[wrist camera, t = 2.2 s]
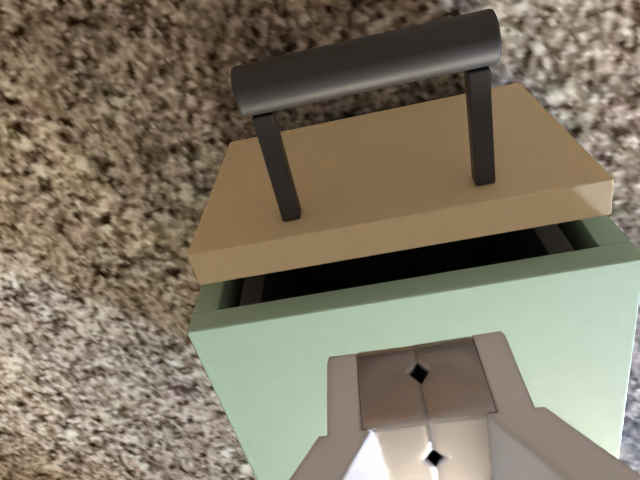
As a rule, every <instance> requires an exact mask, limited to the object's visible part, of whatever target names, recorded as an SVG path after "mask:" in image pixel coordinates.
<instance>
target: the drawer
mask: <svg viewBox="0 0 640 480" xmlns="http://www.w3.org/2000/svg"><path fill="white" fill-rule="evenodd" d="M500 55H501V34H500V28H499V23H498V19H497V16H496V14H495V12H494V10H492V9H486V10H481V11H477V12H472V13H468V14H464V15H459V16H455V17H450V18H446V19H441V20H437V21H432V22H428V23H424V24H419V25H415V26H410V27H406V28H401V29H397V30H392V31H388V32H384V33H379V34H375V35H370V36H366V37H361V38H357V39H353V40H348V41H344V42H339V43H335V44H330V45H326V46H321V47H317V48H313V49H308V50H304V51H299V52H295V53H290V54H286V55H281V56H277V57H273V58H268V59H264V60H259V61H255V62H250V63H246V64H241V65H237V66H234V67H232V69H231V84H232V89H233V94H234V97H235V101H236V104H237V106H238V109H239V111H240V112H241V114H242V115H243V116H244V117H250V116H253V118H252V121H253V124H254V127H255V131H256V134H257V137H253V138H248V139H243V140H238V141H234V142H230V144H229V147H228V149H227V152H226V155H225V157H224V160H223V162H222V165H221V168H220V170H219V173H218V176H217V178H216V181H215V183H214V186H213V189H212V191H211V194H210V197H209V199H208V202H207V205H206V207H205V210H204V212H203V215H202V218H201V220H200V223H199V226H198V228H197V231H196V233H195V236H194V239H193V241H192V244H191V247H190V249H189V252H188V254H187V257H188V259H189V262H190V264H191V266H192V269H193V271H194V273H195V276H196V278H197V280H198V283H199V285H205V284H210V283H216V282H222V281H228V280H233V279H239V278H245V280H244V285H243V289H242V294H241V299H240V304H239V306H245V305H251V304H257V303H263V302H269V301H275V300H281V299H287V298H293V297H299V296H305V295H311V294H317V293H323V292H329V291H335V290H341V289H347V288H353V287H359V286H365V285H371V284H377V283H383V282H389V281H395V280H401V279H407V278H413V277H419V276H426V275H432V274H438V273H444V272H450V271H456V270H462V269H468V268H474V267H480V266H486V265H492V264H498V263H504V262H510V261H516V260H522V259H528V258H534V257H540V256H546V255H552V254H558V253H564V252H570V251H575V250H574V249H573V247H572V246H571V244H570V243H569V241H568V240H567V238H566V237H565V236H564V234H563V233H562V231H561V230H560V228H559V227H558V225H557V223H563V222H569V221H575V220H581V219H586V218H592V217H598V216H604V215H609V214H611V208H612V197H613V185H614V178H613V177H612V176H611V175H610V174H609V173H608V172H607V171H606V170H605V169H604V168H603V167H602V166H601V165H600V164H599V163H598V162H597V161H596V160H595V159H594V158H593V157H592V156H591V155H590V154H589V153H588V152H587V151H586V150H585V149H584V148H583V147H582V146H581V145H580V144H579V143H578V142H577V141H576V140H575V139H574V138H573V137H572V136H571V135H570V134H569V133H568V132H567V131H566V130H565V129H564V128H563V127H562V126H561V125H560V124H559V123H558V122H557V121H556V120H555V119H554V118H553V117H552V116H551V115H550V114H549V113H548V112H547V111H546V110H545V109H544V108H543V107H542V106H541V105H540V104H539V103H538V102H537V101H536V100H535V98H534V97H533V96H532V95H531V94H530V93H529V92H528V91H527V90H526V89H525V88H524V87H523V86H522V85H521V84H520V83H514V84H509V85H504V86H500V87H495V88H491V73H490V68H489V67H488V66H491V65H495V64H497V63H498V62H499V59H500ZM463 71H464V77H465V90H466V94H461V95H456V96H451V97H446V98H442V99H437V100H432V101H427V102H422V103H417V104H413V105H408V106H403V107H398V108H393V109H388V110H384V111H379V112H374V113H369V114H364V115H359V116H354V117H350V118H345V119H340V120H335V121H330V122H325V123H321V124H316V125H311V126H306V127H301V128H296V129H292V130H287V131H282V132H280V130H279V126H278V122H277V119H276V115H275V111H278V110H283V109H288V108H293V107H297V106H302V105H307V104H311V103H316V102H321V101H326V100H330V99H335V98H340V97H345V96H349V95H354V94H359V93H363V92H368V91H373V90H378V89H382V88H387V87H392V86H396V85H401V84H406V83H411V82H415V81H420V80H425V79H429V78H434V77H439V76H444V75H448V74H453V73H458V72H463Z"/></svg>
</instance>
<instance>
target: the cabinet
mask: <svg viewBox="0 0 640 480" xmlns="http://www.w3.org/2000/svg"><path fill="white" fill-rule="evenodd" d="M557 225H558V227H559V228H560V230H561V231H562V233H563V234H564V236H565V237H566V238H567V240H568V241H569V243H570V244H571V246H572V247H573V249H574V250H575V251H570V252H564V253H558V254H552V255H546V256H540V257H534V258H528V259H522V260H516V261H510V262H504V263H498V264H492V265H486V266H480V267H474V268H468V269H462V270H456V271H450V272H444V273H438V274H432V275H426V276H419V277H413V278H407V279H401V280H395V281H389V282H383V283H377V284H371V285H365V286H359V287H353V288H347V289H341V290H335V291H329V292H323V293H317V294H311V295H305V296H299V297H293V298H287V299H281V300H275V301H269V302H263V303H257V304H251V305H245V306H239V304H240V299H241V294H242V289H243V285H244V280H245V278H239V279H233V280H228V281H222V282H216V283H210V284H205V285H202V286H201V289H200V292H199V295H198V299H197V302H196V305H195V308H194V311H193V315H192V317H191V321H190V324H189V327H188V330H187V334H188V336H189V338H190V340H191V342H192V344H193V346H194V348H195V350H196V353H197V355H198V357H199V359H200V361H201V363H202V365H203V367H204V369H205V371H206V374H207V376H208V378H209V380H210V382H211V384H212V386H213V388H214V390H215V392H216V395H217V397H218V399H219V401H220V403H221V405H222V407H223V409H224V411H225V413H226V416H227V418H228V420H229V422H230V424H231V426H232V428H233V430H234V432H235V434H236V437H237V439H238V441H239V443H240V445H241V447H242V449H243V451H244V453H245V455H246V458H247V460H248V462H249V464H250V466H251V468H252V470H253V472H254V474H255V476H256V479H257V480H289V479H290V478H291V476H292V475H293V473H294V472H295V471H296V469H297V468H298V466H299V465H300V463H301V462H302V460H303V459H304V457H305V456H306V454H307V453H308V451H309V450H310V449H311V447H312V446H313V444H314V443H315V441H316V440H317V438H318V437H320V436H326V435H327V363H328V359H329V357H332V356H340V355H348V354H356V353H357V354H358V353H359V352H367V351H375V350H382V349H390V348H398V347H406V346H413V345H417V344H424V343H430V342H436V341H442V340H448V339H455V338H461V337H467V336H470V337H471V336H473V335H479V334H485V333H491V332H497V331H502V332H503V333H504V334H505V336H506V338H507V341H508V343H509V346H510V348H511V351H512V353H513V355H514V358H515V360H516V363H517V365H518V368H519V370H520V373H521V375H522V377H523V380H524V382H525V385H526V387H527V390H528V392H529V395H530V397H531V399H532V402H533V404H534V407H535V408H536V407H546V408H547V409H549V410H550V411H551V412H553V413H554V414H556V415H557V416H558V417H560V418H561V419H563V420H564V421H565V422H567V423H568V424H569V425H571V426H572V427H574V428H575V429H576V430H578V431H579V432H581V433H582V434H583V435H585V436H586V437H588V438H589V439H590V440H592V441H593V442H595V443H596V444H597V445H599V446H600V447H602V448H603V449H604V450H606V451H607V452H609V453H610V454H611V455H613V456H614V457H616V458H617V459H618V458H619V450H620V443H621V435H622V428H623V420H624V413H625V405H626V398H627V390H628V383H629V375H630V367H631V360H632V352H633V345H634V337H635V330H636V322H637V315H638V307H639V300H640V252H639V251H638V249H637V248H636V247H635V246H634V245H633V244H632V242H629V240H628V238H627V237H626V236H625V235H624V234H623V233H622V231H621V230H620V229H619V228H618V227H617V226H616V224H615V223H614V222H613V221H612V220H611V219H610V217H609V216H608V215H604V216H598V217H592V218H586V219H581V220H575V221H569V222H563V223H557Z"/></svg>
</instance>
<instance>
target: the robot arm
mask: <svg viewBox="0 0 640 480" xmlns="http://www.w3.org/2000/svg"><path fill="white" fill-rule="evenodd" d="M289 480H640V475H639V474H638V473H636V472H635V471H634V470H632V469H631V468H629V467H628V466H627V465H625V464H624V463H622V462H621V461H620V460H618V459H617V458H616V457H614V456H613V455H611V454H610V453H609V452H607V451H606V450H604V449H603V448H602V447H600V446H599V445H597V444H596V443H595V442H593V441H592V440H590V439H589V438H588V437H586V436H585V435H583V434H582V433H581V432H579V431H578V430H576V429H575V428H574V427H572V426H571V425H569V424H568V423H567V422H565V421H564V420H563V419H561V418H560V417H558V416H557V415H556V414H554V413H553V412H551V411H550V410H549V409H547V408H546V407H536V408H535V407H534V404H533V402H532V399H531V397H530V395H529V392H528V390H527V387H526V385H525V382H524V380H523V377H522V375H521V373H520V370H519V368H518V365H517V363H516V360H515V358H514V355H513V353H512V351H511V348H510V346H509V343H508V341H507V338H506V336H505V334H504V333H503V332H502V331H497V332H491V333H485V334H479V335H473V336H471V337H470V336H467V337H461V338H455V339H448V340H442V341H436V342H430V343H424V344H417V345H413V346H406V347H398V348H390V349H382V350H375V351H367V352H359V353H358V354H357V353H356V354H348V355H340V356H332V357H329V359H328V363H327V435H326V436H320V437H318V438H317V440H316V441H315V443H314V444H313V446H312V447H311V449H310V450H309V451H308V453H307V454H306V456H305V457H304V459H303V460H302V462H301V463H300V465H299V466H298V468H297V469H296V471H295V472H294V473H293V475H292V476H291V478H290V479H289Z"/></svg>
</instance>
